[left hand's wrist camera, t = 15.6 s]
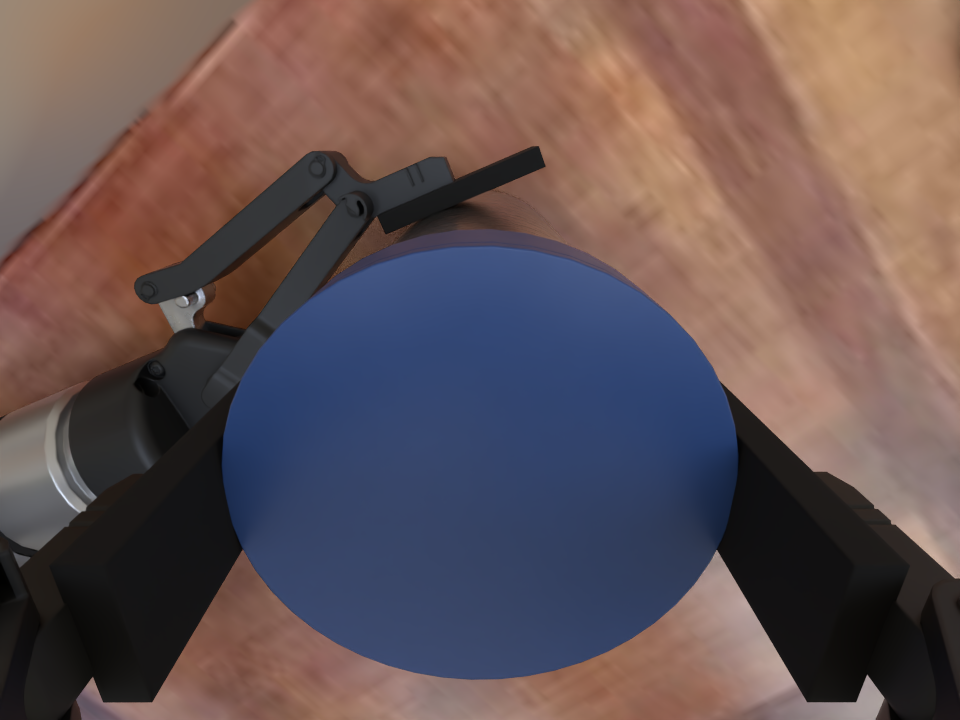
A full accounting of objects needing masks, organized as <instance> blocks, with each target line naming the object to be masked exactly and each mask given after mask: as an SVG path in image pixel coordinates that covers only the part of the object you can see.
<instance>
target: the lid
mask: <svg viewBox="0 0 960 720" xmlns="http://www.w3.org/2000/svg"><path fill="white" fill-rule="evenodd" d="M222 476H223V484H224V489H225V494H226V499H227V503H228V507H229V512H230V516H231V521H232V524H233V527H234V530H235V532H236V534H237V537H238V539H239V542H240V544H241V547H242V548H243V550H244V552H245V553H246V555H247V557H248V558H249V560H250V562H251V564H252V565H253V567H254V569H255V570H256V572H257V573H258V574H259V576H260V577H261V578H262V579H263V581H264V582H265V583H266V584H267V586H268V587H269V588H270V590H271V591H272V592H273V593H274V594H275V595H276V596H277V597H278V598H279V599H280V600H281V601H282V602H283V603H284V604H285V605H286V606H287V607H288V608H289V609H290V610H291V611H292V612H293V613H294V614H296V615H297V616H298V617H299V618H301V619H302V620H303V621H304V622H306V623H307V624H308V625H309V626H311V627H312V628H313V629H315V630H316V631H318V632H320V633H321V634H323V635H324V636H326V637H327V638H329V639H331V640H332V641H334V642H335V643H337V644H339V645H341V646H343V647H345V648H347V649H349V650H351V651H353V652H355V653H357V654H359V655H361V656H364V657H367V658H369V659H372V660H375V661H377V662H380V663H383V664H385V665H388V666H392V667H395V668H399V669H403V670H407V671H410V672H414V673H419V674H425V675H431V676H437V677H443V678H457V679H470V680H475V679H505V678H514V677H523V676H530V675H535V674H540V673H545V672H550V671H555V670H558V669H561V668H564V667H568V666H571V665H574V664H578V663H581V662H583V661H586V660H588V659H591V658H593V657H596V656H598V655H600V654H603V653H605V652H608V651H609V650H611V649H613V648H615V647H617V646H619V645H621V644H622V643H624V642H626V641H628V640H630V639H632V638H633V637H635V636H636V635H638V634H639V633H640V632H642V631H643V630H645V629H646V628H648V627H649V626H651V625H652V624H654V623H655V622H656V621H657V620H659V619H660V618H661V617H662V616H663V615H664V614H665V613H667V612H668V611H669V610H670V609H671V608H672V607H674V606H675V605H676V604H677V603H678V602H679V600H680V599H681V598H682V597H683V596H684V595H685V594H686V593H687V592H688V591H689V590H690V588H691V587H692V586H693V585H694V584H695V583H696V581H697V580H698V578H699V577H700V576H701V574H702V573H703V571H704V570H705V568H706V567H707V566H708V564H709V563H710V561H711V559H712V557H713V555H714V554H715V552H716V550H717V548H718V546H719V544H720V542H721V540H722V538H723V536H724V533H725V530H726V526H727V522H728V519H729V514H730V510H731V505H732V500H733V496H734V491H735V487H736V482H737V476H738V446H737V438H736V430H735V424H734V420H733V417H732V413H731V410H730V407H729V403H728V400H727V396H726V394H725V392H724V390H723V388H722V386H721V384H720V381H719V379H718V377H717V375H716V373H715V371H714V369H713V367H712V365H711V364H710V363H709V361H708V360H707V358H706V357H705V355H704V354H703V352H702V351H701V349H700V348H699V347H698V345H697V344H696V342H695V341H694V339H693V338H692V337H691V336H690V335H689V334H688V333H687V332H686V331H685V330H684V329H683V328H682V327H681V326H680V325H679V324H678V323H677V322H676V320H675V319H674V318H673V317H672V316H671V315H670V314H669V313H668V312H666V311H665V310H664V309H663V308H662V307H661V306H659V305H658V304H657V303H656V302H655V301H654V300H653V299H651V298H650V297H649V296H648V295H647V294H646V293H645V292H643V291H642V290H641V289H640V288H639V287H637V286H636V285H635V284H634V283H632V282H631V281H630V280H628V279H627V278H626V277H625V276H623V275H622V274H621V273H619V272H618V271H617V270H616V269H614V268H612V267H611V266H609V265H607V264H605V263H604V262H602V261H600V260H598V259H597V258H595V257H593V256H591V255H590V254H588V253H586V252H583V251H581V250H578V249H576V248H573V247H571V246H568V245H566V244H563V243H561V242H558V241H555V240H551V239H547V238H543V237H539V236H535V235H531V234H527V233H521V232H512V231H502V230H493V229H480V230H454V231H448V232H442V233H435V234H429V235H423V236H420V237H417V238H413V239H410V240H407V241H403V242H400V243H397V244H393V245H391V246H389V247H386V248H384V249H382V250H380V251H378V252H376V253H373V254H371V255H369V256H367V257H365V258H362V259H361V260H359V261H358V262H356V263H355V264H353V265H352V266H350V267H348V268H347V269H345V270H344V271H342V272H341V273H339V274H338V275H336V276H335V277H334V278H333V279H331V280H330V281H329V282H328V283H327V284H326V285H324V286H323V287H322V288H321V289H320V290H319V291H318V292H316V293H315V294H314V295H313V296H312V297H311V298H310V299H308V300H307V301H306V302H305V303H304V304H303V305H301V306H300V307H299V308H298V309H297V310H296V311H295V312H293V313H292V314H291V315H290V316H289V317H288V318H287V319H285V320H284V321H283V322H282V323H281V324H280V325H279V326H278V328H277V329H276V330H275V331H274V332H273V333H272V335H271V336H270V337H269V338H268V339H267V341H266V342H265V343H264V344H263V345H262V346H261V348H260V349H259V350H258V352H257V354H256V355H255V357H254V358H253V360H252V362H251V363H250V365H249V367H248V368H247V370H246V372H245V373H244V375H243V376H242V379H241V381H240V383H239V386H238V388H237V391H236V393H235V396H234V398H233V401H232V403H231V405H230V409H229V414H228V418H227V422H226V427H225V431H224V435H223V450H222Z"/></svg>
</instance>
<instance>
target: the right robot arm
mask: <svg viewBox="0 0 960 720" xmlns="http://www.w3.org/2000/svg"><path fill="white" fill-rule="evenodd" d="M544 167H546V166H545V164H544V161H543V158H542V155H541V152H540V149H539V146H533V147H530V148H527V149H525V150H523V151H520V152H518V153H516V154H514V155H511V156H509V157H507V158H504V159H502V160H500V161H497V162H495V163H493V164H490V165H488V166H486V167H483V168H481V169H479V170H476V171H474V172H472V173H469V174H467V175H465V176H462V177H460V178H458V179H456V180H455V178H454V175H453V173H452V170H451V168H450V165H449V163H448V160H447V158H446V157H429V158H427V159H424V160H422V161H420V162H418V163H415V164H413V165H411V166H409V167H406V168H404V169H402V170H399V171H397V172H395V173H393V174H390V175H388V176H386V177H384V178H381V179H379V180H377V181H369V180H366V179H364V178H362V177H361V176H360V175H358V174H357V173H356V171H355V170H354V169H353V168H352V167H351V166H350V165H349V164H348V161H347V159H346V158H345V157H344V156H343V155H342V154H341V153H339V152H336V151H312V152H310V153H308V154H306V155H305V156H304V157H303V158H302V159H301V160H299V161H298V162H297V163H296V164H295V165H294V166H292V167H291V168H290V169H289V170H288V171H287V172H286V173H284V174H283V175H282V176H281V177H280V178H279V179H277V180H276V181H275V182H274V183H273V184H272V185H271V186H269V187H268V188H267V189H266V190H265V191H264V192H262V193H261V194H260V195H259V196H258V197H257V198H255V199H254V200H253V201H252V202H251V203H250V204H249V205H247V206H246V207H245V208H244V209H243V210H242V211H240V212H239V213H238V214H237V215H236V216H235V217H234V218H232V219H231V220H230V221H229V222H228V223H227V224H225V225H224V226H223V227H222V228H221V229H220V230H218V231H217V232H216V233H215V234H214V235H213V236H212V237H210V238H209V239H208V240H207V241H206V242H205V243H203V244H202V245H201V246H200V247H199V248H198V249H197V250H195V251H194V252H193V253H192V254H191V255H190V256H188V257H187V258H186V259H185V260H184V261H182V262H178V263H175V264H172V265H170V266H167V267H164V268H162V269H159V270H156V271H153V272H151V273H148V274H145V275H143V276H141V277H139V278H137V280H136V282H135V285H134V289H135V292H136V294H137V296H138V297H139V298H140V299H141V300H142V301H144V302H145V303H149V304H158V303H159V305H160V307H161V309H162V311H163V313H164V315H165V316H166V318H167V320H168V322H169V324H170V326H171V328H172V329H173V331H174V333H175V334H174V335H173V336H172V337H171V338H170V340H169V342H168V343H167V345H166V346H165V347H164V348H163V349H160V350H158V351H155V352H153V353H151V354H148V355H146V356H143V357H141V358H139V359H136V360H134V361H131V362H129V363H127V364H124V365H122V366H119V367H117V368H115V369H112V370H110V371H107V372H105V373H103V374H101V375H99V376H97V377H95V378H94V379H92V380H90V381H84V382H81V383H79V384H76V385H74V386H72V387H69V388H67V389H64V390H62V391H60V392H57V393H55V394H53V395H50V396H48V397H46V398H43V399H41V400H39V401H36V402H34V403H31V404H29V405H27V406H24V407H22V408H20V409H17V410H15V411H13V412H10V413H9V414H7V415H5V416H3V417H1V418H0V536H1V537H2V538H4V539H6V540H8V542H9V544H10V547H11V549H12V551H13V554H14V556H15V558H16V561H17V563H18V565H19V568H20V567H21V566H22V565H23V564H24V563H25V562H27V561H28V560H29V559H30V558H31V557H32V556H33V555H34V554H35V553H36V552H38V551H39V550H40V549H41V548H42V547H43V546H44V545H45V544H46V543H47V542H49V541H50V540H51V539H52V538H53V537H54V536H55V535H56V534H57V533H58V532H60V531H61V530H62V529H63V528H64V527H68V526H69V522H71V521H72V520H73V519H74V518H75V517H76V516H77V515H78V514H79V513H80V512H82V511H86V507H87V506H88V505H89V504H90V503H91V502H92V501H94V500H95V499H96V498H97V497H98V496H99V495H100V494H101V493H102V492H103V491H105V490H106V489H107V488H109V487H111V486H113V485H114V484H116V483H118V482H120V481H121V480H123V479H125V478H127V477H128V476H130V475H132V474H144V473H145V472H146V471H147V470H148V469H149V468H150V467H151V466H152V465H154V464H155V463H156V462H157V461H158V460H159V459H160V458H161V457H162V456H163V455H164V454H165V453H166V452H167V451H168V450H169V449H170V448H171V447H172V446H173V445H174V444H175V443H176V442H177V441H178V440H179V439H180V438H181V437H182V436H184V435H185V434H186V433H187V432H188V431H189V430H190V429H191V428H192V427H193V426H194V425H195V424H196V423H197V422H198V421H199V420H200V419H201V418H202V417H203V416H204V415H205V414H206V413H207V412H208V411H209V410H210V409H211V408H212V407H214V406H215V405H216V404H217V403H218V402H219V401H220V400H221V399H222V398H223V397H224V396H225V395H226V394H227V393H228V392H229V391H230V390H231V389H232V388H233V387H234V386H235V385H236V384H237V383H238V382H239V381H240V380H241V379H242V376H243V375H244V373H245V372H246V370H247V368H248V367H249V365H250V363H251V362H252V360H253V358H254V357H255V355H256V354H257V352H258V350H259V349H260V348H261V346H262V345H263V344H264V343H265V342H266V341H267V339H268V338H269V337H270V336H271V335H272V333H273V332H274V331H275V330H276V329H277V328H278V326H279V325H280V324H281V323H282V322H283V321H284V320H285V319H287V318H288V317H289V316H290V315H291V314H292V313H293V312H295V311H296V310H297V309H298V308H299V307H300V306H301V305H303V304H304V303H305V302H306V301H307V300H308V299H310V298H311V297H312V296H313V295H314V294H315V293H316V292H318V291H319V290H320V289H321V288H322V287H323V286H324V285H325V284H326V283H327V282H328V280H329V279H330V278H331V276H332V275H333V274H334V272H335V271H336V270H337V268H338V267H339V266H340V264H341V263H342V261H343V260H344V259H345V257H346V256H347V255H348V253H349V252H350V251H351V249H352V248H353V247H354V245H355V244H356V243H357V241H358V240H359V239H360V237H361V236H362V235H363V233H364V232H365V231H366V229H367V228H368V227H369V225H370V224H371V222H372V221H373V220H374V218H375V217H377V216H378V219H379V221H380V223H381V225H382V227H383V229H384V232H385V234H388V233H390V232H393V231H395V230H397V229H400V228H402V227H404V226H407V225H409V224H411V223H414V222H416V221H419V220H421V219H423V218H426V217H428V216H430V215H433V214H435V213H437V212H440V211H442V210H444V209H447V208H449V207H452V206H454V205H456V204H459V203H461V202H463V201H466V200H468V199H470V198H473V197H475V196H477V195H480V194H482V193H485V192H487V191H489V190H492V189H494V188H496V187H499V186H501V185H503V184H506V183H508V182H511V181H513V180H515V179H518V178H520V177H522V176H525V175H527V174H529V173H532V172H534V171H536V170H539V169H541V168H544ZM324 195H327V196H328V197H329V198H330V199H331V200H332V201H333V202H334V203H335V205H336V207H335V209H334V210H333V211H332V213H331V214H330V216H329V217H328V218H327V220H326V221H325V223H324V224H323V225H322V227H321V228H320V230H319V231H318V232H317V234H316V235H315V237H314V238H313V239H312V241H311V242H310V244H309V245H308V247H307V248H306V249H305V251H304V252H303V254H302V255H301V256H300V258H299V259H298V261H297V262H296V263H295V265H294V266H293V268H292V269H291V270H290V272H289V273H288V275H287V276H286V277H285V279H284V280H283V282H282V283H281V284H280V286H279V287H278V289H277V290H276V292H275V293H274V294H273V296H272V297H271V299H270V300H269V301H268V303H267V304H266V306H265V307H264V308H263V310H262V311H261V313H260V314H259V315H258V317H257V318H256V319H255V320H254V321H253V322H252V323H251V324H250V325H249V327H248V328H247V329H242V328H237V327H233V326H228V325H224V324H219V323H215V322H211V321H205V319H204V316H203V312H204V308H205V307H206V306H207V305H208V304H210V303H211V302H213V300H214V299H215V291H216V286H215V285H214V283H213V282H215V281H217V280H219V279H221V278H222V277H224V276H226V275H228V274H230V273H231V272H232V271H234V270H235V269H237V268H238V267H239V266H240V265H241V264H243V263H244V262H245V261H246V260H247V259H249V258H250V257H251V256H252V255H253V254H255V253H256V252H257V251H258V250H259V249H261V248H262V247H263V246H264V245H265V244H267V243H268V242H269V241H270V240H271V239H273V238H274V237H275V236H276V235H277V234H279V233H280V232H281V231H282V230H283V229H285V228H286V227H287V226H288V225H289V224H291V223H292V222H293V221H294V220H295V219H297V218H298V217H299V216H300V215H301V214H303V213H304V212H305V211H306V210H307V209H309V208H310V207H311V206H312V205H313V204H315V203H316V202H317V201H318V200H320V199H321V198H322V197H323V196H324Z"/></svg>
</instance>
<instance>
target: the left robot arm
mask: <svg viewBox="0 0 960 720" xmlns="http://www.w3.org/2000/svg"><path fill="white" fill-rule="evenodd" d="M240 381H241V380H240ZM240 381H239V382H238V383H237V384H236V385H235V386H234V387H233V388H232V389H231V390H230V391H229V392H228V393H227V394H226V395H225V396H224V397H223V398H222V399H221V400H220V401H219V402H218V403H217V404H216V405H215V406H214V407H212V408H211V409H210V410H209V411H208V412H207V413H206V414H205V415H204V416H203V417H202V418H201V419H200V420H199V421H198V422H197V423H196V424H195V425H194V426H193V427H192V428H191V429H190V430H189V431H188V432H187V433H186V434H185V435H184V436H182V437H181V438H180V439H179V440H178V441H177V442H176V443H175V444H174V445H173V446H172V447H171V448H170V449H169V450H168V451H167V452H166V453H165V454H164V455H163V456H162V457H161V458H160V459H159V460H158V461H157V462H156V463H155V464H154V465H152V466H151V467H150V468H149V469H148V470H147V471H146V472H145V473H144V474H132V475H130V476H128V477H127V478H125V479H123V480H121V481H120V482H118V483H116V484H114V485H113V486H111V487H109V488H107V489H106V490H105V491H103V492H102V493H101V494H100V495H99V496H98V497H97V498H96V499H95V500H94V501H92V502H91V503H90V504H89V505H88V506H87V507H86V511H82V512H80V513H79V514H78V515H77V516H76V517H75V518H74V519H73V520H72V521H71V522H69V526H68V527H64V528H63V529H62V530H61V531H60V532H58V533H57V534H56V535H55V536H54V537H53V538H52V539H51V540H50V541H49V542H47V543H46V544H45V545H44V546H43V547H42V548H41V549H40V550H39V551H38V552H36V553H35V554H34V555H33V556H32V557H31V558H30V559H29V560H28V561H27V562H25V563H24V564H23V565H22V566H21V567H20V568H19V565H18V563H17V561H16V558H15V556H14V554H13V551H12V549H11V547H10V544H9V542H8V540H6V539H4V538H2V537H1V536H0V720H82V719H81V714H80V708H79V706H78V704H77V701H76V699H77V697H78V696H79V694H80V693H81V692H82V690H83V689H84V688H85V686H86V685H87V684H88V682H89V681H90V679H91V678H92V677H93V678H94V680H95V683H96V685H97V688H98V690H99V693H100V695H101V698H102V700H103V702H153V700H154V698H155V696H156V695H157V693H158V691H159V690H160V688H161V686H162V685H163V683H164V681H165V680H166V678H167V676H168V675H169V673H170V671H171V669H172V668H173V666H174V664H175V663H176V661H177V659H178V658H179V656H180V654H181V653H182V651H183V649H184V647H185V646H186V644H187V642H188V641H189V639H190V637H191V636H192V634H193V632H194V631H195V629H196V627H197V626H198V624H199V622H200V620H201V619H202V617H203V615H204V614H205V612H206V610H207V609H208V607H209V605H210V604H211V602H212V600H213V598H214V597H215V595H216V593H217V592H218V590H219V588H220V587H221V585H222V583H223V582H224V580H225V578H226V577H227V575H228V573H229V571H230V570H231V568H232V566H233V565H234V563H235V561H236V560H237V558H238V556H239V555H240V553H241V551H242V549H243V548H242V547H241V544H240V542H239V539H238V537H237V534H236V532H235V530H234V527H233V524H232V521H231V516H230V512H229V507H228V503H227V499H226V494H225V489H224V484H223V476H222V450H223V435H224V431H225V427H226V422H227V418H228V414H229V409H230V405H231V403H232V401H233V398H234V396H235V393H236V391H237V388H238V386H239V383H240ZM720 384H721V386H722V388H723V390H724V392H725V394H726V396H727V400H728V403H729V407H730V410H731V413H732V417H733V420H734V424H735V430H736V438H737V446H738V476H737V482H736V487H735V491H734V496H733V500H732V505H731V510H730V514H729V519H728V522H727V526H726V530H725V533H724V536H723V538H722V540H721V542H720V544H719V546H718V548H717V550H718V552H719V554H720V556H721V557H722V559H723V561H724V562H725V564H726V566H727V567H728V569H729V571H730V572H731V574H732V576H733V578H734V579H735V581H736V583H737V584H738V586H739V588H740V589H741V591H742V593H743V594H744V596H745V598H746V599H747V601H748V603H749V605H750V606H751V608H752V610H753V611H754V613H755V615H756V616H757V618H758V620H759V621H760V623H761V625H762V627H763V628H764V630H765V632H766V633H767V635H768V637H769V638H770V640H771V642H772V643H773V645H774V647H775V648H776V650H777V652H778V654H779V655H780V657H781V659H782V660H783V662H784V664H785V665H786V667H787V669H788V670H789V672H790V674H791V676H792V677H793V679H794V681H795V682H796V684H797V686H798V687H799V689H800V691H801V692H802V694H803V696H804V697H805V699H806V701H807V702H856V701H857V698H858V696H859V693H860V691H861V688H862V686H863V683H864V681H865V678H866V676H867V675H868V676H869V677H870V679H871V680H872V681H873V683H874V684H875V686H876V687H877V688H878V690H879V691H880V692H881V694H882V695H883V696H884V698H885V699H884V701H883V704H882V706H881V708H880V711H879V713H878V715H877V718H876V720H960V579H955V578H954V577H952V576H951V575H950V574H949V573H948V572H947V571H946V570H945V569H944V568H943V567H941V566H940V565H939V564H938V563H937V562H936V561H935V560H934V559H933V558H931V557H930V556H929V555H928V554H927V553H926V552H925V551H924V550H923V549H922V548H920V547H919V546H918V545H917V544H916V543H915V542H914V541H913V540H912V539H910V538H909V537H908V536H907V535H906V534H905V533H904V532H903V531H902V530H900V529H899V528H898V527H897V526H896V525H892V524H891V520H889V519H888V518H887V517H886V516H885V515H884V514H883V513H882V512H881V511H879V510H878V509H874V505H873V504H872V503H871V502H870V501H868V500H867V499H866V498H865V497H864V496H863V495H862V494H861V493H860V492H858V491H857V490H856V489H855V488H854V487H852V486H851V485H849V484H847V483H845V482H844V481H842V480H840V479H838V478H836V477H835V476H833V475H831V474H829V473H828V472H813V471H812V470H811V469H810V468H809V467H808V466H807V465H806V464H805V463H804V462H803V461H802V460H801V459H800V458H799V457H798V456H797V455H795V454H794V453H793V452H792V451H791V450H790V449H789V448H788V447H787V446H786V445H785V444H784V443H783V442H782V441H781V440H780V439H779V438H778V437H777V436H776V435H775V434H774V433H773V432H772V431H771V430H770V429H769V428H768V427H767V426H765V425H764V424H763V423H762V422H761V421H760V420H759V419H758V418H757V417H756V416H755V415H754V414H753V413H752V412H751V411H750V410H749V409H748V408H747V407H746V406H745V405H744V404H743V403H742V402H741V401H740V400H739V399H738V398H737V397H736V396H734V395H733V394H732V393H731V392H730V391H729V390H728V389H727V388H726V387H725V386H724V385H723V384H722V383H721V382H720Z"/></svg>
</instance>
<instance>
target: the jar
mask: <svg viewBox="0 0 960 720" xmlns="http://www.w3.org/2000/svg"><path fill="white" fill-rule="evenodd" d="M480 229H493V230H502V231H512V232H521V233H527V234H531V235H535V236H539V237H543V238H547V239H551V240H555V241H558V242H561V243H563V244H566V245H568V244H567V243H566V241H565V240H564V239H563V238H562V237H561V236H560V235H559V234H558V233H557V232H556V231H555V230H554V229H553V228H552V226H551V225H550V224H549V223H548V222H547V221H546V220H545V219H544V218H543V217H542V216H541V215H540V214H539V213H538V212H537V211H536V210H535V209H533V208H532V207H531V206H530V205H528V204H527V203H525V202H523V201H521V200H520V199H518V198H516V197H513V196H511V195H508V194H505V193H501V192H497V191H491V190H489V191H487V192H485V193H482V194H480V195H477V196H475V197H473V198H470V199H468V200H466V201H463V202H461V203H459V204H456V205H454V206H452V207H449V208H447V209H444V210H442V211H440V212H437V213H435V214H433V215H430V216H428V217H426V218H423V219H421V220H419V221H416V222H414V223H411V224H410V226H409V227H408V228H407V229H406V230H405V231H404V232H403V233H402V234H401V235H400V236H399V237H398V238H397V239H396V241H395V242H394V243H393V244H397V243H400V242H403V241H407V240H410V239H413V238H417V237H420V236H423V235H429V234H435V233H442V232H448V231H454V230H480ZM393 244H392V245H393ZM568 246H569V245H568Z"/></svg>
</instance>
